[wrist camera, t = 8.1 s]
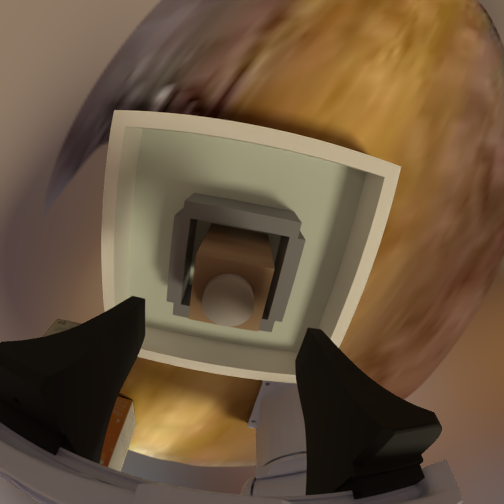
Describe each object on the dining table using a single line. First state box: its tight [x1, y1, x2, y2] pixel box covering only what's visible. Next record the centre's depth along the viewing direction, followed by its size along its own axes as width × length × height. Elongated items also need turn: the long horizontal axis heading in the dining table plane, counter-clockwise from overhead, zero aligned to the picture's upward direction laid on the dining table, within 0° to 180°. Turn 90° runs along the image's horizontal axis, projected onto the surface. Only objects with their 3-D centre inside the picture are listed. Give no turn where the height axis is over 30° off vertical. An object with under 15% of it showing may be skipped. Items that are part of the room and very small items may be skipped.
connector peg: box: [188, 223, 275, 331], centre depth 17 cm, size 4×4×7 cm
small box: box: [100, 396, 136, 472], centre depth 22 cm, size 8×6×13 cm
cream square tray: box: [101, 110, 401, 383], centre depth 19 cm, size 18×18×4 cm
